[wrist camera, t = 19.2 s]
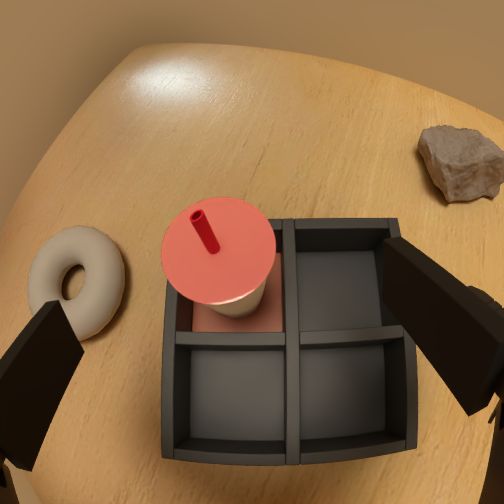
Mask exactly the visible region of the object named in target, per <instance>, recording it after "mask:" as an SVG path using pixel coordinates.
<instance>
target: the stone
mask: <svg viewBox="0 0 504 504" xmlns="http://www.w3.org/2000/svg"><path fill="white" fill-rule="evenodd" d="M418 150H419V152H420V153H421V155H422V156H423V158H424V162H425V165H426V168H427V170H428V173H429V174H430V177H431V179H432V180H433V183H434V184H435V186H437V187H438V188H440V189H441V190H442V192H443V193H444V196H445V198H446V199H447V201H448V202H452V201H457V200H461V201H465V200H468V201H470V200H472V199H477V198H479V197H481V196H483V195H487V196H490V197H492V198H494V197H496V196H497V195H498V193H499V191H500V185H501V184H502V183H503V182H504V151H501V149H500V148H499V147H498V146H497V145H496V144H495V143H494V142H493V141H491V140H490V139H489V138H486V137H484V136H483V135H482V134H481V133H480V132H479V131H478V130H472V129H467V128H462V129H457V128H455V127H453V126H447V125H443V126H440V125H439V126H436V127H430V128H429V129H423V131H422V133H421V136H420V139H419V141H418Z"/></svg>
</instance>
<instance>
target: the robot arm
mask: <svg viewBox="0 0 504 504" xmlns="http://www.w3.org/2000/svg"><path fill="white" fill-rule="evenodd" d="M382 301H383V303H384V304H385V305H386V306H387V308H388V309H389V310H390V311H391V313H392V314H393V315H394V316H395V318H396V319H397V320H398V321H399V323H400V324H401V325H402V326H403V328H404V329H405V330H406V332H407V333H408V334H409V335H410V337H411V338H412V339H413V341H414V342H415V343H416V345H417V346H418V347H419V348H420V350H421V351H422V352H423V354H424V355H425V356H426V358H427V359H428V360H429V362H430V363H431V364H432V366H433V367H434V369H435V370H436V371H437V373H438V374H439V375H440V377H441V378H442V380H443V381H444V382H445V384H446V385H447V387H448V388H449V389H450V391H451V392H452V394H453V395H454V396H455V398H456V399H457V401H458V402H459V404H460V405H461V407H462V408H463V409H464V411H465V412H466V414H467V415H468V417H469V416H471V415H473V414H474V413H476V412H478V411H480V410H482V409H483V408H485V407H487V406H488V404H489V402H490V400H491V398H492V396H493V394H494V392H495V393H496V395H497V396H498V397H499V398H500V400H499V402H498V403H497V405H496V407H495V409H494V411H493V413H492V414H491V416H490V418H489V421H488V423H490V424H491V422H492V421H493V419H494V417H495V416H496V417H495V426H494V433H493V440H492V446H491V452H490V457H489V462H488V467H487V472H486V476H485V481H484V485H483V489H482V493H481V496H480V500H479V503H478V504H504V308H502V306H501V305H500V304H499V303H498V302H496V301H495V302H494V299H493V298H492V297H490V296H489V295H488V294H487V293H485V292H484V291H482V290H480V289H478V288H475V287H473V286H468V287H467V286H465V285H464V284H463V283H462V282H460V281H459V280H458V279H457V278H455V277H454V276H453V275H452V274H450V273H449V272H448V271H446V270H445V269H444V268H443V267H441V266H440V265H439V264H437V263H436V262H435V261H433V260H432V259H431V258H429V257H428V256H427V255H425V254H424V253H423V252H421V251H420V250H419V249H417V248H416V247H415V246H413V245H412V244H410V243H409V242H408V241H406V240H405V239H403V238H402V237H401V236H399V237H394V238H389V239H384V240H383V294H382ZM83 354H84V350H83V348H82V346H81V344H80V342H79V340H78V339H77V337H76V335H75V333H74V331H73V329H72V327H71V325H70V323H69V320H68V318H67V316H66V314H65V312H64V310H63V308H62V306H61V303H60V301H59V300H53V301H47V302H45V303H44V305H43V306H42V307H41V308H40V309H39V311H38V312H37V313H36V314H35V315H34V317H33V318H32V319H31V320H30V321H29V323H28V324H27V325H26V326H25V328H24V329H23V330H22V332H21V333H20V334H19V335H18V337H17V338H16V339H15V341H14V342H13V343H12V345H11V346H10V347H9V348H8V350H7V351H6V353H5V354H4V355H3V357H2V358H1V359H0V504H19V501H18V498H17V495H16V492H15V488H14V484H13V481H12V477H11V474H10V470H9V468H8V467H7V466H6V465H5V464H4V461H5V458H7V459H8V460H9V461H10V462H11V463H12V464H13V465H14V466H15V467H16V468H19V469H23V470H26V471H30V472H32V469H33V466H34V464H35V461H36V458H37V456H38V453H39V451H40V448H41V446H42V443H43V441H44V438H45V436H46V433H47V431H48V429H49V426H50V424H51V422H52V419H53V417H54V415H55V412H56V410H57V408H58V406H59V403H60V401H61V399H62V397H63V395H64V393H65V390H66V388H67V386H68V384H69V382H70V380H71V378H72V376H73V374H74V372H75V370H76V368H77V366H78V364H79V362H80V360H81V358H82V356H83Z"/></svg>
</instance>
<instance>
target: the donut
mask: <svg viewBox="0 0 504 504" xmlns="http://www.w3.org/2000/svg"><path fill="white" fill-rule="evenodd" d="M77 264H81V265H83V267H84V269H85V280H84V284H83V287H82V288H81V290H80V292H79V293H78V294H77V295H76V297H75V298H73V299H71V300H64V298H63V296H62V292H61V286H62V281H63V278H64V276H65V275H66V273H67V272H68V270H69V269H70V268H71V267H73V266H75V265H77ZM124 287H125V269H124V263H123V260H122V257H121V254H120V251H119V249H118V247H117V246H116V245H115V244H114V242H113V241H112V240H111V238H110V237H109V236H108V235H107V234H105V233H103V232H101V231H99V230H98V229H96V228H94V227H89V226H73V227H70V228H66V229H63V230H61V231H60V232H58V233H57V234H55V235H53V236H52V237H51V238H50V239H49V240H48V241H47V242H46V243H45V244H44V245H43V246H42V247H41V248H40V250H39V252H38V253H37V255H36V257H35V259H34V260H33V263H32V266H31V269H30V272H29V276H28V287H27V296H28V302H29V307H30V310H31V312H32V314H33V316H34V315H35V314H36V313H37V312H38V311H39V309H40V308H41V307H42V306H43V305H44V303H45V302H47V301H53V300H59V301H60V303H61V306H62V308H63V310H64V312H65V314H66V316H67V318H68V320H69V323H70V325H71V327H72V329H73V331H74V333H75V335H76V337H77V339H78V340H79V341H80V340H85V339H87V338H89V337H91V336H93V335H95V334H97V333H99V332H100V331H101V330H102V329H103V328H104V327H105V326H106V325H107V324H108V323H109V322H110V321H111V320H112V318H113V316H114V314H115V312H116V311H117V309H118V307H119V305H120V303H121V299H122V295H123V291H124Z"/></svg>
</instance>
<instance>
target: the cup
mask: <svg viewBox="0 0 504 504" xmlns="http://www.w3.org/2000/svg"><path fill="white" fill-rule="evenodd" d="M275 253H276V241H275V236H274V232H273V229H272V227H271V225H270V223H269V221H268V220H267V218H266V217H265V216H264V215H263V214H262V213H261V212H260V211H259V210H258V209H257V208H256V207H254V206H253V205H251V204H249V203H247V202H245V201H242V200H239V199H236V198H230V197H215V198H209V199H205V200H202V201H199V202H197V203H195V204H193V205H191V206H189V207H188V208H186V209H185V210H184V211H182V212H181V213H180V214H179V215H178V216H177V217H176V218H175V219H174V220H173V222H172V223H171V225H170V226H169V228H168V230H167V232H166V234H165V236H164V239H163V243H162V249H161V260H162V266H163V269H164V272H165V275H166V277H167V279H168V280H169V282H170V283H171V285H172V286H173V287H174V288H175V289H176V290H177V291H178V292H179V293H181V294H182V295H183V296H185V297H187V298H188V299H190V300H193V301H195V302H199V303H202V304H204V305H206V306H208V307H210V308H211V309H213V310H215V311H217V312H219V313H221V314H223V315H225V316H227V317H229V318H233V319H242V318H245V317H248V316H250V315H251V314H253V313H254V312H255V311H256V309H257V308H258V306H259V304H260V302H261V298H262V295H263V292H264V288H265V284H266V280H267V276H268V274H269V272H270V270H271V268H272V265H273V263H274V259H275Z"/></svg>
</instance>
